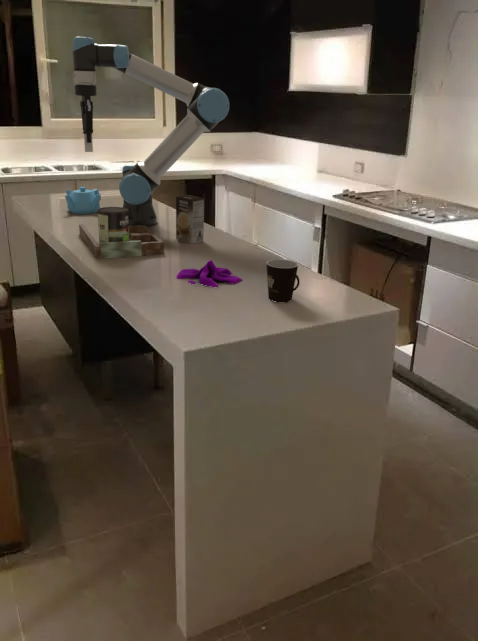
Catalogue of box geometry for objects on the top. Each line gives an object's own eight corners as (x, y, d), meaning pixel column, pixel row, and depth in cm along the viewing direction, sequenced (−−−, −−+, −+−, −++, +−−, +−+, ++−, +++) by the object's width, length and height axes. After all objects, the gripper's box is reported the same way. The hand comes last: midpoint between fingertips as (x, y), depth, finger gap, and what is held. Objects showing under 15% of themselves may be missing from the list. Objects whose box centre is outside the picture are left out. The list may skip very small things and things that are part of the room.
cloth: (167, 274, 190) (167, 254, 188) (222, 268, 198) (222, 249, 196) (195, 295, 172) (195, 274, 170) (254, 288, 180) (255, 268, 177)
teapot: (102, 215, 268) (100, 189, 264) (66, 215, 265) (64, 189, 261) (101, 208, 282) (100, 184, 278) (67, 208, 279) (65, 184, 275)
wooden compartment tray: (139, 231, 241) (139, 218, 239) (164, 254, 210) (164, 239, 208) (79, 234, 232) (78, 221, 231) (96, 259, 201) (95, 244, 200)
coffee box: (175, 239, 230) (174, 196, 224) (187, 237, 235) (187, 194, 229) (191, 244, 224) (192, 199, 219) (204, 241, 229) (205, 198, 223)
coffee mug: (262, 293, 174) (264, 259, 170) (293, 293, 174) (295, 259, 171) (268, 307, 163) (270, 271, 159) (300, 307, 164) (302, 271, 160)
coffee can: (134, 248, 216) (133, 208, 211) (122, 255, 207) (121, 213, 202) (106, 245, 218) (105, 205, 213) (93, 252, 209) (92, 210, 204)
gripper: (72, 83, 227) (76, 149, 235) (77, 84, 216) (81, 153, 224) (92, 84, 230) (96, 149, 238) (99, 84, 218) (102, 153, 227)
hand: (88, 151), depth 231 cm, fingers closed
